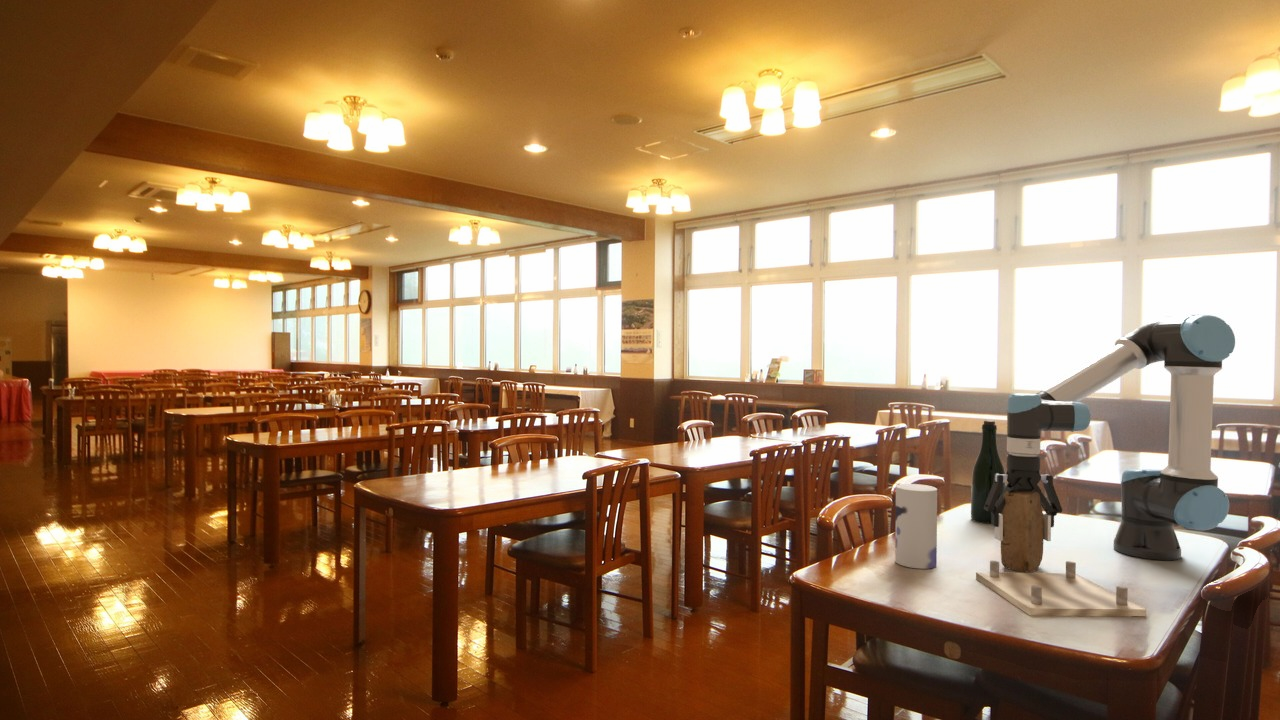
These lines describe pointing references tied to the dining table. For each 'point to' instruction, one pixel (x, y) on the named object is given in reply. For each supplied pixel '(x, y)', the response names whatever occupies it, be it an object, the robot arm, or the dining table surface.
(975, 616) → the dining table surface
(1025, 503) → the block
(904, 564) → the container
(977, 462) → the beer bottle
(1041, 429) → the robot arm
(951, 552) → the dining table surface
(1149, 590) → the dining table surface
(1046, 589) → the peg stand
